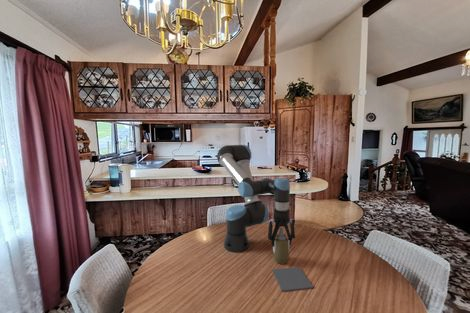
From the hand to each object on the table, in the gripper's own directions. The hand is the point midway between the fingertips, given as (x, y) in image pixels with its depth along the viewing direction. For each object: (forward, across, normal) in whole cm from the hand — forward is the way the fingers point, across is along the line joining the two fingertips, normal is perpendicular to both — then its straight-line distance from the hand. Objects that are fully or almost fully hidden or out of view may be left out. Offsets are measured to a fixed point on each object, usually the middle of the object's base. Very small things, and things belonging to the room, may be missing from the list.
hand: (281, 251), depth 111 cm
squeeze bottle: (+6, 0, 0) cm, 6 cm away
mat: (+5, 0, -14) cm, 15 cm away
